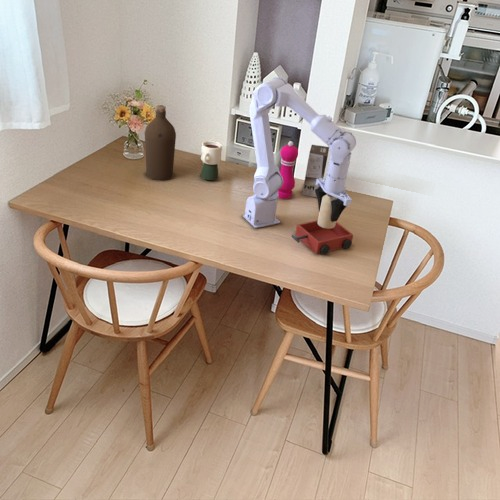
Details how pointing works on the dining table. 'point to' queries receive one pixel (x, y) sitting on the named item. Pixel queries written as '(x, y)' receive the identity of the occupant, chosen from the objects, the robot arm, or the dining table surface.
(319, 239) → the cart
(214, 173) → the character mug
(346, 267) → the dining table surface
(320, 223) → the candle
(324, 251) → the cart wheels
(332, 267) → the dining table surface
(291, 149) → the pepper mill
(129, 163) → the dining table surface
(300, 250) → the dining table surface
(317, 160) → the coffee box
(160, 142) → the olive oil
